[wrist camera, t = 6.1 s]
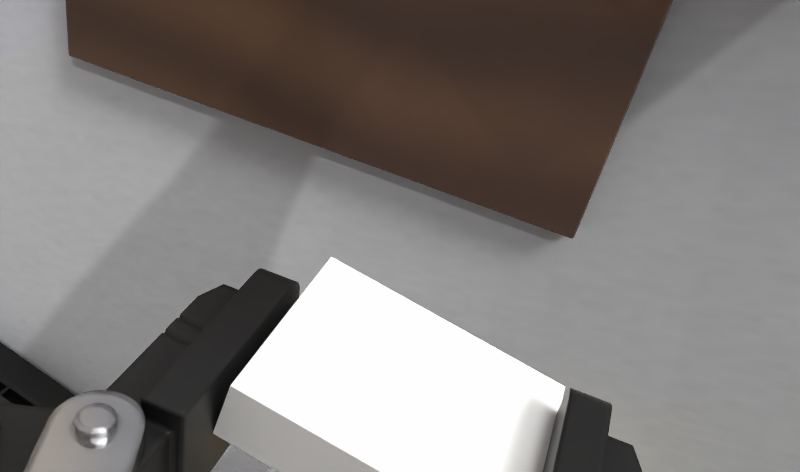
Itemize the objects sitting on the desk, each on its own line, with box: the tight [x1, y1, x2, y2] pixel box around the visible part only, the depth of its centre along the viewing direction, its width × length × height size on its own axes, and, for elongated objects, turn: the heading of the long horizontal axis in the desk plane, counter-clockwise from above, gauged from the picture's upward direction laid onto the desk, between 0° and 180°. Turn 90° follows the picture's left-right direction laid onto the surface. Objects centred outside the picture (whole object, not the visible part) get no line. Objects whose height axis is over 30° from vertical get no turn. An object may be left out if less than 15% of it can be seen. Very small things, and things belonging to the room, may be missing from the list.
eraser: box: [213, 257, 565, 472], centre depth 12 cm, size 1×5×4 cm, turn 68°
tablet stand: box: [0, 343, 76, 408], centre depth 45 cm, size 18×3×3 cm, turn 60°
